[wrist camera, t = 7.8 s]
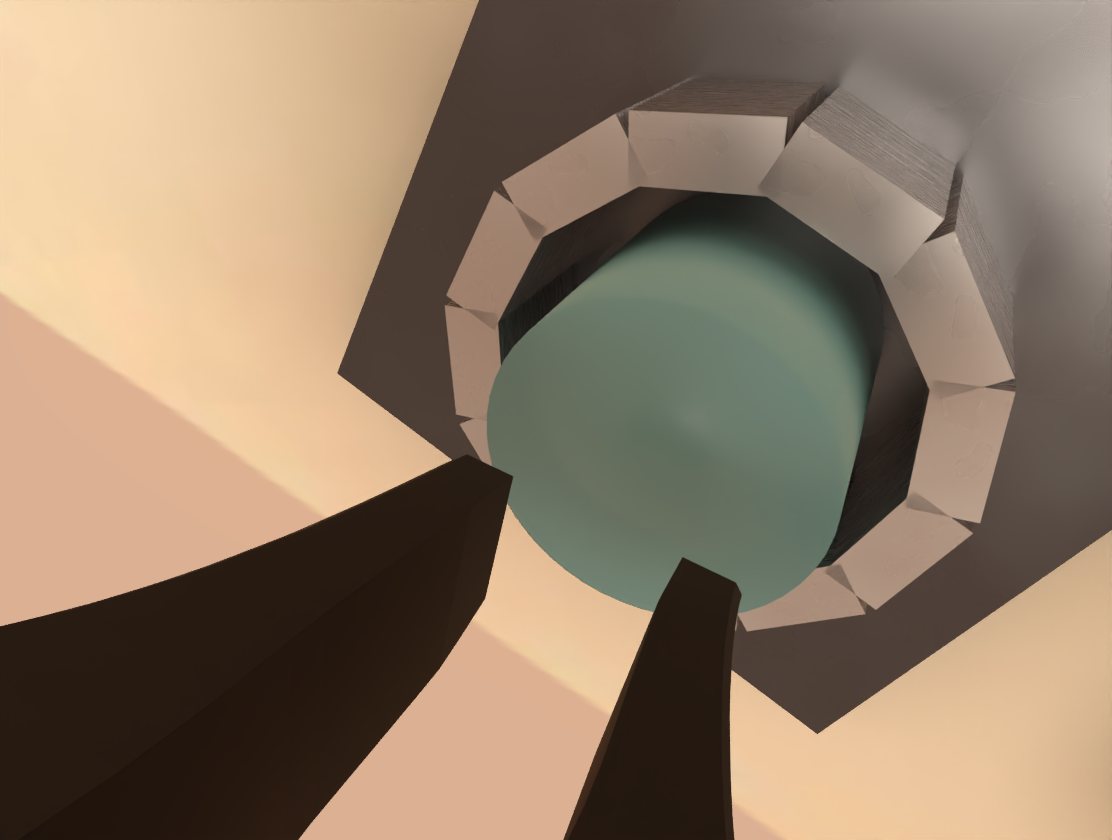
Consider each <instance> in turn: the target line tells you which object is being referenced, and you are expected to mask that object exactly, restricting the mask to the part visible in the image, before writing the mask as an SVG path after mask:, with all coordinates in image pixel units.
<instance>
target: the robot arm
mask: <svg viewBox="0 0 1112 840" xmlns="http://www.w3.org/2000/svg"><path fill="white" fill-rule="evenodd" d="M512 480H513V476H512V475H510V474H508V473H505V472H503V471H501V470H499V469H497V468H495V467H493V466H491V465H489V464H487V463H485V462H482V461H480V460H478V459H476V458H474V457H472V456H470V455H468V454H467V455H464V456H461V457H458V458H456V459H454V460H452V461H449V462H447V463H445V464H443V465H441V466H439V467H437V468H434V469H432V470H430V471H428V472H426V473H424V474H422V475H420V476H418V477H416V478H414V479H411V480H409V481H407V482H405V483H403V484H401V485H399V486H397V487H395V488H392V489H390V490H388V491H386V492H384V493H382V494H380V495H377V496H375V497H373V498H371V499H369V500H367V501H364V502H362V503H360V504H358V505H356V506H353V507H351V508H349V509H346V510H344V511H342V512H340V513H337V514H335V515H333V516H330V517H328V518H326V519H324V520H321V521H319V522H317V523H315V524H312V525H310V526H308V527H305V528H303V529H301V530H298V531H296V532H294V533H291V534H289V535H286V536H284V537H281V538H279V539H276V540H274V541H271V542H268V543H266V544H263V545H261V546H258V547H256V548H253V549H250V550H248V551H245V552H243V553H240V554H237V555H235V556H232V557H229V558H227V559H224V560H222V561H219V562H216V563H214V564H211V565H209V566H206V567H203V568H200V569H197V570H194V571H191V572H188V573H186V574H183V575H180V576H177V577H174V578H171V579H168V580H165V581H162V582H159V583H156V584H153V585H150V586H147V587H143V588H140V589H137V590H133V591H130V592H127V593H124V594H121V595H117V596H114V597H110V598H108V599H104V600H101V601H97V602H94V603H90V604H87V605H83V606H79V607H75V608H72V609H68V610H64V611H60V612H56V613H53V614H49V615H45V616H41V617H37V618H33V619H29V620H25V621H21V622H17V623H12V624H8V625H4V626H0V840H298V839H299V838H300V837H301V836H302V834H303V833H304V832H305V830H306V829H307V828H308V826H309V825H310V824H311V823H312V821H313V820H314V819H315V818H316V817H317V815H318V814H319V813H320V812H321V810H322V809H323V808H324V807H325V806H326V805H327V803H328V802H329V801H330V800H331V799H332V797H333V796H334V795H335V794H336V793H337V791H338V790H339V789H340V788H341V787H342V785H343V784H344V783H345V782H346V781H347V779H348V778H349V777H350V776H351V775H352V773H353V772H354V771H355V770H356V769H357V767H358V766H359V765H360V764H361V763H362V761H363V760H364V759H365V758H366V757H367V756H368V754H369V753H370V752H371V751H372V749H373V748H374V747H375V746H376V745H377V744H378V742H379V741H380V739H382V737H383V736H384V735H385V734H386V733H387V732H388V730H389V729H390V728H391V727H392V726H393V724H394V723H395V722H396V721H397V719H399V717H400V716H401V715H402V714H403V712H404V711H405V710H406V709H407V708H408V706H409V705H410V704H411V703H412V702H413V700H414V699H415V698H416V697H417V696H418V694H419V693H420V692H421V691H422V690H423V688H424V687H425V686H426V685H427V683H428V682H429V681H430V680H431V678H432V677H433V676H434V675H435V674H436V672H437V671H438V670H439V669H440V667H441V666H442V664H443V663H444V661H445V660H446V658H447V657H448V655H449V654H450V652H451V650H452V649H453V647H454V646H455V645H456V643H457V642H458V640H459V638H460V637H461V636H462V634H463V632H464V631H465V629H466V628H467V626H468V625H469V623H470V621H471V620H472V618H473V617H474V615H475V614H476V612H477V610H478V609H479V607H480V606H481V604H482V603H483V601H484V599H485V597H486V593H487V588H488V584H489V580H490V575H491V571H492V567H493V562H494V558H495V554H496V549H497V545H498V541H499V536H500V532H501V528H502V523H503V519H504V515H505V511H506V506H507V502H508V498H509V493H510V489H511V485H512ZM741 597H742V594H741V592H740V590H739V587H738V585H737V583H736V582H734V581H732V580H730V579H728V578H726V577H724V576H722V575H719V574H717V573H715V572H713V571H711V570H709V569H707V568H705V567H703V566H701V565H698V564H696V563H694V562H692V561H690V560H688V559H686V558H684V557H682V559H681V561H680V562H679V564H678V566H677V568H676V570H675V571H674V573H673V575H672V577H671V578H670V580H669V582H668V584H667V586H666V588H665V590H664V591H663V593H662V595H661V597H660V599H659V601H658V603H657V606H656V608H655V610H654V613H653V615H652V618H651V620H650V623H649V625H648V627H647V630H646V632H645V635H644V637H643V640H642V642H641V644H640V647H639V649H638V652H637V654H636V657H635V659H634V661H633V664H632V666H631V669H630V671H629V674H628V676H627V678H626V681H625V683H624V686H623V688H622V691H621V693H620V695H619V698H618V700H617V703H616V705H615V708H614V710H613V712H612V715H611V717H610V720H609V722H608V725H607V727H606V730H605V732H604V734H603V737H602V739H601V742H600V744H599V747H598V749H597V751H596V754H595V756H594V759H593V762H592V764H591V767H590V770H589V773H588V775H587V778H586V781H585V783H584V786H583V789H582V791H581V794H580V797H579V799H578V802H577V805H576V807H575V810H574V813H573V815H572V818H571V821H570V824H569V826H568V829H567V832H566V834H565V837H564V840H734V830H733V817H732V797H731V771H730V685H731V667H732V653H733V642H734V634H735V626H736V620H737V614H738V609H739V604H740V600H741Z"/></svg>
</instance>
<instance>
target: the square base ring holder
mask: <svg viewBox="0 0 1112 840" xmlns="http://www.w3.org/2000/svg"><path fill="white" fill-rule="evenodd" d="M713 193H729V194H741V195H754V196H766V197H768V198H769V199H771V200H772V201H774V202H775V203H777V204H778V205H779V206H781V207H782V208H784V209H785V210H787V211H788V212H790V213H791V214H792V215H794V216H795V217H797V218H798V219H800V220H801V221H803V222H804V223H805V224H807V225H808V226H810V227H811V228H813V229H814V230H816V231H817V232H818V233H820V234H821V235H823V236H824V237H826V238H827V239H828V240H830V241H831V242H833V243H834V244H836V245H837V246H839V247H840V248H841V249H843V250H844V251H846V252H847V253H849V254H850V255H852V256H853V257H854V258H856V259H857V260H859V261H860V262H862V263H863V264H865V265H866V266H867V267H868V269H869V271H870V273H871V275H872V277H873V279H874V282H875V285H876V288H877V291H878V294H879V297H880V301H881V307H882V312H883V326H884V336H883V344H882V352H881V356H880V360H879V364H878V368H877V372H876V376H875V380H874V384H873V388H872V392H871V397H870V401H869V405H868V409H867V413H866V417H865V421H864V425H863V429H862V433H861V437H860V441H859V445H858V449H857V453H856V457H855V461H854V465H853V469H852V473H851V477H850V481H849V485H848V489H847V493H846V497H845V501H844V505H843V509H842V513H841V517H840V521H839V524H838V527H837V531H836V534H835V537H834V539H833V541H832V543H831V545H830V547H829V549H828V551H827V553H826V555H825V556H824V558H823V559H822V560H821V562H820V563H819V565H818V566H817V567H816V569H815V570H814V571H813V572H812V573H811V574H810V575H809V576H808V577H807V578H806V579H805V580H804V581H803V582H802V583H801V584H800V585H798V586H797V587H796V588H794V589H793V590H791V591H790V592H789V593H787V594H786V595H784V596H783V597H781V598H779V599H777V600H775V601H773V602H771V603H769V604H767V605H765V606H762V607H759V608H756V609H753V610H750V611H747V612H743V613H738V614H737V620H736V626H735V634H734V642H733V653H732V667H731V670H733V671H734V672H735V673H737V674H738V675H739V676H741V677H742V678H743V679H745V680H746V681H747V682H749V683H750V684H751V685H753V686H754V687H755V688H757V689H758V690H759V691H761V692H762V693H763V694H765V695H766V696H767V697H769V698H770V699H771V700H773V701H774V702H775V703H777V704H778V705H779V706H781V707H782V708H783V709H785V710H786V711H787V712H789V713H790V714H791V715H793V716H794V717H795V718H797V719H798V720H799V721H801V722H802V723H803V724H805V725H806V726H807V727H809V728H810V729H811V730H813V731H814V732H815V733H817V734H818V733H819V732H821V731H822V730H824V729H825V728H827V727H828V726H830V725H831V724H832V723H834V722H835V721H837V720H838V719H840V718H841V717H843V716H844V715H845V714H847V713H848V712H850V711H851V710H853V709H854V708H855V707H857V706H858V705H860V704H861V703H863V702H864V701H866V700H867V699H868V698H870V697H871V696H873V695H874V694H876V693H877V692H879V691H880V690H881V689H883V688H884V687H886V686H887V685H889V684H890V683H892V682H893V681H894V680H896V679H897V678H899V677H900V676H902V675H903V674H905V673H906V672H907V671H909V670H910V669H912V668H913V667H915V666H916V665H917V664H919V663H920V662H922V661H923V660H925V659H926V658H928V657H929V656H930V655H932V654H933V653H935V652H936V651H938V650H939V649H941V648H942V647H943V646H945V645H946V644H948V643H949V642H951V641H952V640H954V639H955V638H956V637H958V636H959V635H961V634H962V633H964V632H965V631H967V630H968V629H969V628H971V627H972V626H974V625H975V624H977V623H978V622H979V621H981V620H982V619H984V618H985V617H987V616H988V615H990V614H991V613H992V612H994V611H995V610H997V609H998V608H1000V607H1001V606H1003V605H1004V604H1005V603H1007V602H1008V601H1010V600H1011V599H1013V598H1014V597H1016V596H1017V595H1018V594H1020V593H1021V592H1023V591H1024V590H1026V589H1027V588H1029V587H1030V586H1031V585H1033V584H1034V583H1036V582H1037V581H1039V580H1040V579H1041V578H1043V577H1044V576H1046V575H1047V574H1049V573H1050V572H1052V571H1053V570H1054V569H1056V568H1057V567H1059V566H1060V565H1062V564H1063V563H1065V562H1066V561H1067V560H1069V559H1070V558H1072V557H1073V556H1075V555H1076V554H1078V553H1079V552H1080V551H1082V550H1083V549H1085V548H1086V547H1088V546H1089V545H1091V544H1092V543H1093V542H1095V541H1096V540H1098V539H1099V538H1101V537H1102V536H1103V535H1105V534H1106V533H1108V532H1109V531H1111V530H1112V0H479V2H478V5H477V7H476V10H475V13H474V15H473V18H472V21H471V23H470V26H469V28H468V31H467V34H466V36H465V39H464V42H463V44H462V47H461V49H460V52H459V55H458V57H457V60H456V63H455V65H454V68H453V71H452V73H451V76H450V78H449V81H448V84H447V86H446V89H445V92H444V94H443V97H442V99H441V102H440V105H439V107H438V110H437V113H436V115H435V118H434V120H433V123H432V126H431V128H430V131H429V134H428V136H427V139H426V142H425V144H424V147H423V149H422V152H421V155H420V157H419V160H418V163H417V165H416V168H415V170H414V173H413V176H412V178H411V181H410V184H409V186H408V189H407V191H406V194H405V197H404V199H403V202H402V205H401V207H400V210H399V213H398V215H397V218H396V220H395V223H394V226H393V228H392V231H391V234H390V236H389V239H388V241H387V244H386V247H385V249H384V252H383V255H382V257H381V260H380V262H379V265H378V268H377V270H376V273H375V276H374V278H373V281H372V284H371V286H370V289H369V291H368V294H367V297H366V299H365V302H364V305H363V307H362V310H361V312H360V315H359V318H358V320H357V323H356V326H355V328H354V331H353V333H352V336H351V339H350V341H349V344H348V347H347V349H346V352H345V355H344V357H343V360H342V362H341V365H340V368H339V370H338V374H339V375H340V376H342V377H343V378H344V379H346V380H347V381H348V382H350V383H351V384H352V385H354V386H355V387H356V388H358V389H359V390H360V391H362V392H363V393H364V394H365V395H367V396H368V397H369V398H371V399H372V400H373V401H375V402H376V403H377V404H379V405H380V406H381V407H383V408H384V409H385V410H387V411H388V412H389V413H391V414H392V415H393V416H395V417H396V418H397V419H399V420H400V421H401V422H403V423H404V424H405V425H407V426H408V427H409V428H411V429H412V430H413V431H415V432H416V433H417V434H419V435H420V436H421V437H423V438H424V439H425V440H427V441H428V442H429V443H431V444H432V445H433V446H435V447H436V448H437V449H439V450H440V451H441V452H443V453H444V454H445V455H447V456H448V457H449V458H451V459H452V460H454V459H456V458H458V457H461V456H464V455H467V454H468V455H470V456H472V457H474V458H476V459H478V460H480V461H482V462H485V463H487V464H489V465H491V466H492V462H491V458H490V454H489V448H488V441H487V410H488V403H489V396H490V393H491V390H492V386H493V383H494V380H495V377H496V375H497V373H498V371H499V369H500V367H501V365H502V363H503V361H504V359H505V358H506V357H507V355H508V354H509V352H510V351H511V350H512V348H513V347H514V345H515V344H516V343H517V342H518V341H519V340H520V339H521V338H522V337H523V336H524V335H525V334H526V333H527V332H528V331H529V330H530V329H531V328H533V327H534V326H535V325H536V324H537V323H538V322H539V321H540V320H542V319H543V318H544V317H545V316H546V315H547V314H548V313H549V312H550V311H552V310H553V309H554V308H555V307H556V306H557V305H558V304H559V303H560V302H562V301H563V300H564V299H565V298H566V297H567V296H568V295H569V294H571V293H572V292H573V291H574V290H575V289H576V288H577V287H578V286H579V285H581V284H582V283H583V282H584V281H585V280H586V279H587V278H588V277H589V276H591V275H592V274H593V273H594V272H595V271H596V270H597V269H598V268H600V267H601V266H602V265H603V264H604V263H605V262H606V261H607V260H608V259H610V258H611V257H612V256H613V255H614V254H615V253H616V252H617V251H618V250H620V249H621V248H622V247H623V246H624V245H625V244H626V243H627V242H629V241H630V240H631V239H632V238H633V237H634V236H635V235H636V234H637V233H639V232H640V231H641V230H642V229H643V228H644V227H645V226H646V225H647V224H649V223H650V222H651V221H652V220H654V219H655V218H656V217H658V216H659V215H660V214H662V213H663V212H665V211H667V210H669V209H671V208H672V207H674V206H676V205H678V204H680V203H683V202H685V201H688V200H690V199H693V198H696V197H700V196H704V195H709V194H713ZM507 503H508V502H507ZM508 505H509V504H508ZM509 507H510V506H509ZM512 512H513V511H512ZM514 515H515V514H514ZM515 517H516V516H515ZM516 518H517V517H516Z"/></svg>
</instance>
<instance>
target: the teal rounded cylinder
mask: <svg viewBox="0 0 1112 840" xmlns="http://www.w3.org/2000/svg"><path fill="white" fill-rule="evenodd" d="M883 336H884V326H883V312H882V307H881V301H880V297H879V294H878V291H877V288H876V285H875V282H874V279H873V277H872V275H871V273H870V271H869V269H868V267H867V266H866V265H865V264H863V263H862V262H860V261H859V260H857V259H856V258H854V257H853V256H852V255H850V254H849V253H847V252H846V251H844V250H843V249H841V248H840V247H839V246H837V245H836V244H834V243H833V242H831V241H830V240H828V239H827V238H826V237H824V236H823V235H821V234H820V233H818V232H817V231H816V230H814V229H813V228H811V227H810V226H808V225H807V224H805V223H804V222H803V221H801V220H800V219H798V218H797V217H795V216H794V215H792V214H791V213H790V212H788V211H787V210H785V209H784V208H782V207H781V206H779V205H778V204H777V203H775V202H774V201H772V200H771V199H769V198H768V197H766V196H754V195H741V194H729V193H713V194H709V195H704V196H700V197H696V198H693V199H690V200H688V201H685V202H683V203H680V204H678V205H676V206H674V207H672V208H671V209H669V210H667V211H665V212H663V213H662V214H660V215H659V216H658V217H656V218H655V219H654V220H652V221H651V222H650V223H649V224H647V225H646V226H645V227H644V228H643V229H642V230H641V231H640V232H639V233H637V234H636V235H635V236H634V237H633V238H632V239H631V240H630V241H629V242H627V243H626V244H625V245H624V246H623V247H622V248H621V249H620V250H618V251H617V252H616V253H615V254H614V255H613V256H612V257H611V258H610V259H608V260H607V261H606V262H605V263H604V264H603V265H602V266H601V267H600V268H598V269H597V270H596V271H595V272H594V273H593V274H592V275H591V276H589V277H588V278H587V279H586V280H585V281H584V282H583V283H582V284H581V285H579V286H578V287H577V288H576V289H575V290H574V291H573V292H572V293H571V294H569V295H568V296H567V297H566V298H565V299H564V300H563V301H562V302H560V303H559V304H558V305H557V306H556V307H555V308H554V309H553V310H552V311H550V312H549V313H548V314H547V315H546V316H545V317H544V318H543V319H542V320H540V321H539V322H538V323H537V324H536V325H535V326H534V327H533V328H531V329H530V330H529V331H528V332H527V333H526V334H525V335H524V336H523V337H522V338H521V339H520V340H519V341H518V342H517V343H516V344H515V345H514V347H513V348H512V350H511V351H510V352H509V354H508V355H507V357H506V358H505V359H504V361H503V363H502V365H501V367H500V369H499V371H498V373H497V375H496V377H495V380H494V383H493V386H492V390H491V393H490V396H489V403H488V410H487V441H488V448H489V454H490V458H491V462H492V466H493V467H495V468H497V469H499V470H501V471H503V472H505V473H508V474H510V475H512V476H513V480H512V485H511V489H510V493H509V498H508V504H509V506H510V508H511V510H512V511H513V513H514V514H515V516H516V517H517V519H518V520H519V522H520V523H521V525H522V526H523V527H524V529H525V530H526V531H527V532H528V534H529V535H530V536H531V537H532V538H533V540H534V541H535V542H536V543H537V544H538V545H539V546H540V547H541V548H542V549H543V550H544V551H545V552H546V553H547V554H548V555H549V556H550V557H551V558H552V559H553V560H554V561H556V562H557V563H558V564H559V565H560V566H562V567H563V568H564V569H565V570H566V571H568V572H569V573H571V574H572V575H574V576H575V577H577V578H578V579H579V580H581V581H582V582H584V583H585V584H587V585H589V586H591V587H593V588H594V589H596V590H598V591H600V592H601V593H603V594H605V595H608V596H610V597H612V598H614V599H616V600H619V601H621V602H623V603H626V604H629V605H632V606H635V607H638V608H641V609H644V610H649V611H653V612H654V610H655V608H656V606H657V603H658V601H659V599H660V597H661V595H662V593H663V591H664V590H665V588H666V586H667V584H668V582H669V580H670V578H671V577H672V575H673V573H674V571H675V570H676V568H677V566H678V564H679V562H680V561H681V559H682V557H684V558H686V559H688V560H690V561H692V562H694V563H696V564H698V565H701V566H703V567H705V568H707V569H709V570H711V571H713V572H715V573H717V574H719V575H722V576H724V577H726V578H728V579H730V580H732V581H734V582H736V583H737V585H738V587H739V590H740V592H741V594H742V597H741V600H740V604H739V609H738V613H743V612H747V611H750V610H753V609H756V608H759V607H762V606H765V605H767V604H769V603H771V602H773V601H775V600H777V599H779V598H781V597H783V596H784V595H786V594H787V593H789V592H790V591H791V590H793V589H794V588H796V587H797V586H798V585H800V584H801V583H802V582H803V581H804V580H805V579H806V578H807V577H808V576H809V575H810V574H811V573H812V572H813V571H814V570H815V569H816V567H817V566H818V565H819V563H820V562H821V560H822V559H823V558H824V556H825V555H826V553H827V551H828V549H829V547H830V545H831V543H832V541H833V539H834V537H835V534H836V531H837V527H838V524H839V521H840V517H841V513H842V509H843V505H844V501H845V497H846V493H847V489H848V485H849V481H850V477H851V473H852V469H853V465H854V461H855V457H856V453H857V449H858V445H859V441H860V437H861V433H862V429H863V425H864V421H865V417H866V413H867V409H868V405H869V401H870V397H871V392H872V388H873V384H874V380H875V376H876V372H877V368H878V364H879V360H880V356H881V352H882V344H883Z"/></svg>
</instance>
